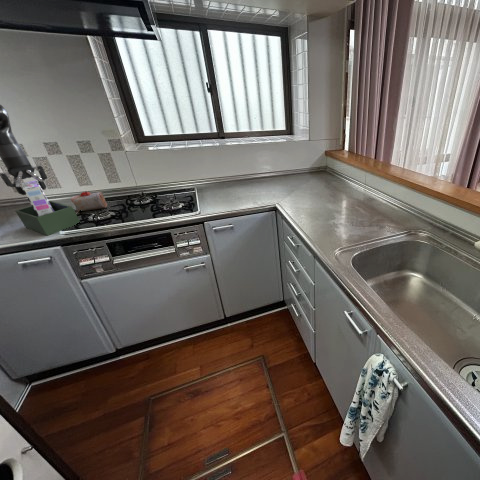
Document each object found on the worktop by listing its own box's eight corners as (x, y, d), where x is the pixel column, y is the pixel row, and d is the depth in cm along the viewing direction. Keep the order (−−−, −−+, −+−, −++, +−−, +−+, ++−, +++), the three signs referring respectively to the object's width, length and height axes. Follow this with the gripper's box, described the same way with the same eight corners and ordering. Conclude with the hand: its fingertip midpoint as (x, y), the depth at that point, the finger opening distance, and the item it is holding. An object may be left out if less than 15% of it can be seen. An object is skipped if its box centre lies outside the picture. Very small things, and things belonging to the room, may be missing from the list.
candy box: (58, 219, 125) (39, 185, 117) (42, 223, 122) (21, 189, 113) (54, 211, 134) (36, 179, 125) (39, 215, 130) (19, 182, 122)
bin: (25, 227, 128) (14, 210, 124) (59, 216, 139) (50, 200, 134) (47, 235, 121) (36, 217, 116) (80, 223, 131) (72, 206, 127)
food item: (75, 213, 142) (66, 196, 137) (79, 208, 148) (71, 191, 143) (106, 209, 147) (98, 192, 142) (108, 204, 153) (101, 187, 148)
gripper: (29, 150, 120) (48, 186, 128) (-16, 157, 109) (9, 196, 117) (38, 152, 117) (57, 188, 125) (-7, 159, 106) (17, 198, 114)
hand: (34, 191), depth 121 cm, fingers closed on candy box, 7 cm apart
